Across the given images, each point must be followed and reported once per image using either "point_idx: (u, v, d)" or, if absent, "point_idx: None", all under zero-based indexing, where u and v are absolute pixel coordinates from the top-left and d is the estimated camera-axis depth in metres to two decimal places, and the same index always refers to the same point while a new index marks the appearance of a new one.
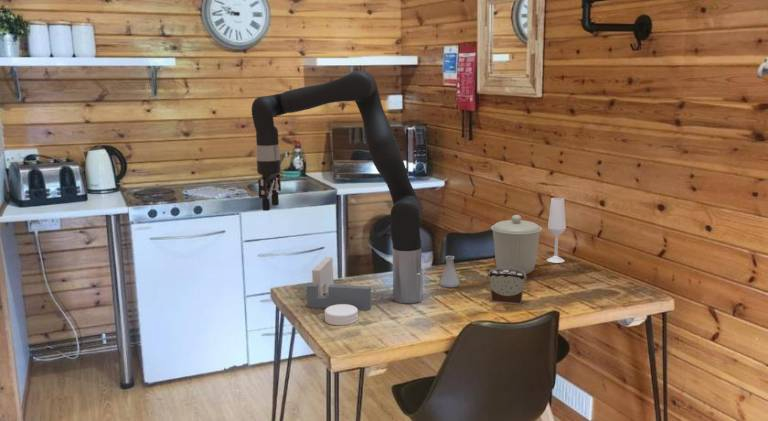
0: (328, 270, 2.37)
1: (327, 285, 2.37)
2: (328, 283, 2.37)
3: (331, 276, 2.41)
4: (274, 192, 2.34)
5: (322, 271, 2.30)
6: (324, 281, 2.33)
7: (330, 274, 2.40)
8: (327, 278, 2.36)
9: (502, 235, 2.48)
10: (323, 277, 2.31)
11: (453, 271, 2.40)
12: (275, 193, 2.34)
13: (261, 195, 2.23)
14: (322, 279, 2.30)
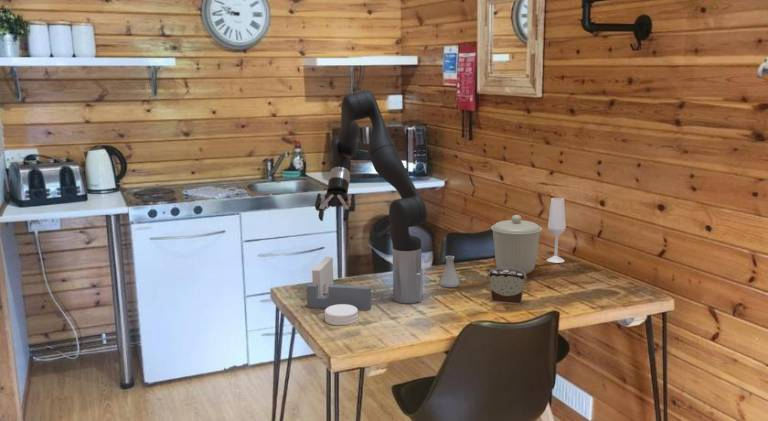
0: (328, 270, 2.37)
1: (327, 285, 2.37)
2: (328, 283, 2.37)
3: (331, 276, 2.41)
4: None
5: (322, 271, 2.30)
6: (324, 281, 2.33)
7: (330, 274, 2.40)
8: (327, 278, 2.36)
9: (502, 235, 2.48)
10: (323, 277, 2.31)
11: (453, 271, 2.40)
12: None
13: None
14: (322, 279, 2.30)
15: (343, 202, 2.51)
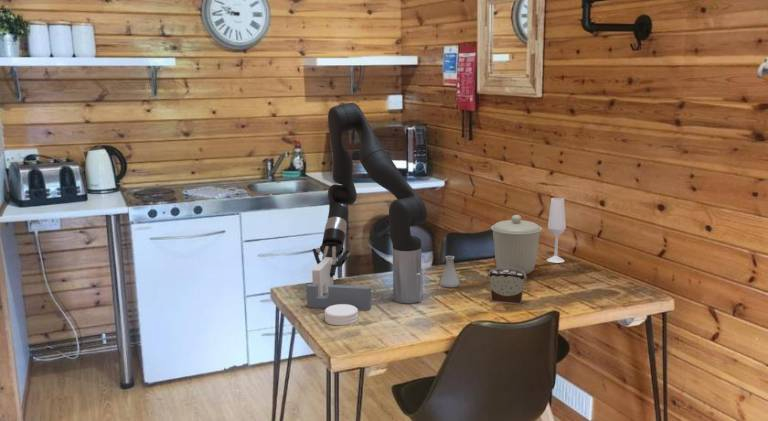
0: (328, 270, 2.37)
1: (327, 285, 2.37)
2: (328, 283, 2.37)
3: None
4: None
5: (322, 270, 2.30)
6: (324, 281, 2.33)
7: None
8: (327, 278, 2.36)
9: (502, 235, 2.48)
10: (323, 277, 2.31)
11: (453, 271, 2.40)
12: None
13: None
14: (322, 279, 2.30)
15: (333, 256, 2.42)
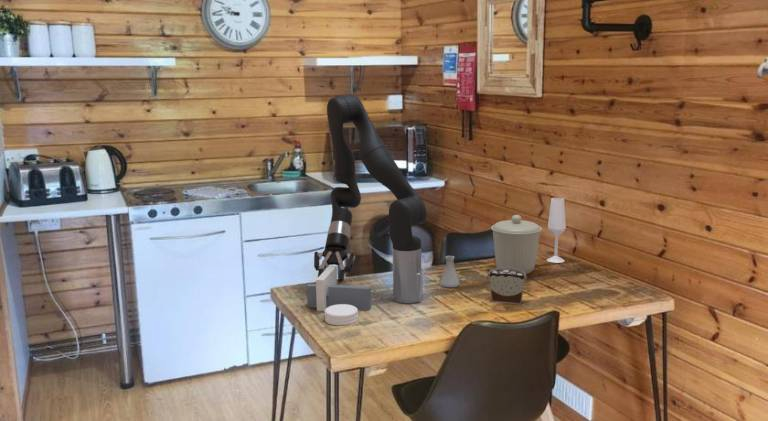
0: (332, 279, 2.27)
1: None
2: None
3: None
4: None
5: (326, 280, 2.20)
6: None
7: (334, 283, 2.29)
8: None
9: (502, 235, 2.48)
10: (327, 286, 2.21)
11: (453, 271, 2.40)
12: None
13: None
14: (326, 289, 2.20)
15: (340, 261, 2.31)
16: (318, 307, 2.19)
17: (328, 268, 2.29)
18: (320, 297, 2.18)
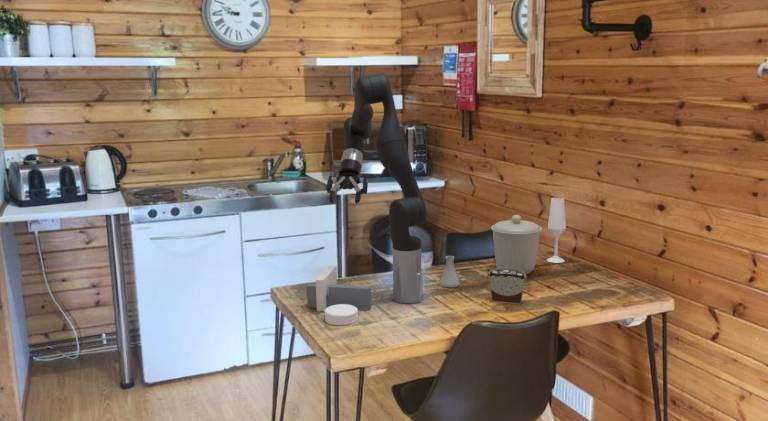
0: (332, 279, 2.27)
1: None
2: None
3: None
4: None
5: (326, 280, 2.20)
6: None
7: (334, 283, 2.29)
8: None
9: (502, 235, 2.48)
10: (327, 286, 2.21)
11: (453, 271, 2.40)
12: None
13: None
14: (326, 289, 2.20)
15: (355, 184, 2.43)
16: (318, 308, 2.19)
17: (328, 268, 2.29)
18: (320, 297, 2.18)
